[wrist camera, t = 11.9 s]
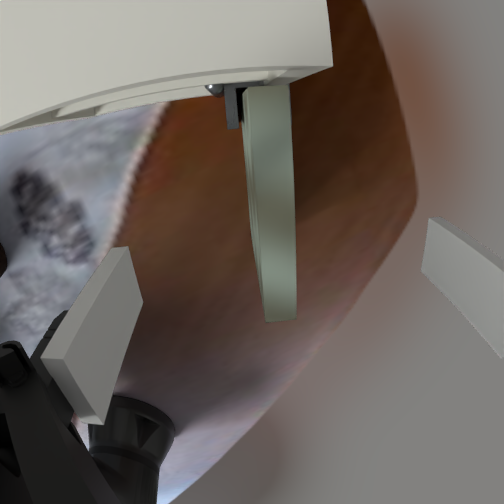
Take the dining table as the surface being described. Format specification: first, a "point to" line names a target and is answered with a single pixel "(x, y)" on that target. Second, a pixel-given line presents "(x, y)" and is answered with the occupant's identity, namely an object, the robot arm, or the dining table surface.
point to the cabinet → (147, 52)
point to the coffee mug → (2, 260)
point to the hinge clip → (234, 98)
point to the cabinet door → (271, 196)
